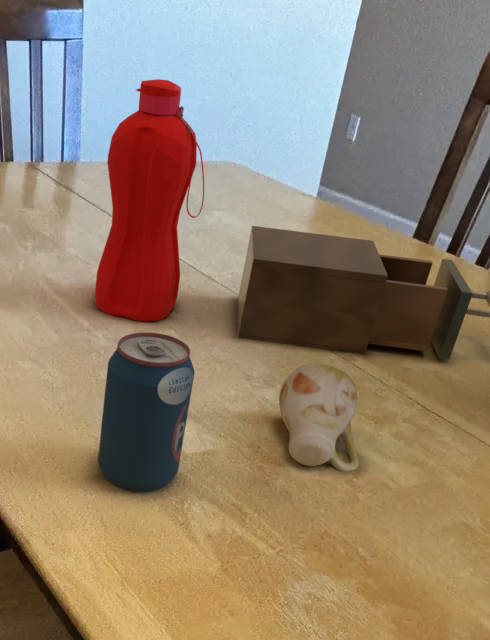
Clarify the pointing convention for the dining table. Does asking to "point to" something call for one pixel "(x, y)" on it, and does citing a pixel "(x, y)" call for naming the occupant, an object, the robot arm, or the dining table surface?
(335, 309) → the cabinet
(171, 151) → the water bottle
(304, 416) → the mug
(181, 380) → the soda can
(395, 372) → the dining table surface
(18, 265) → the dining table surface
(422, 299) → the drawer
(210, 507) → the dining table surface
